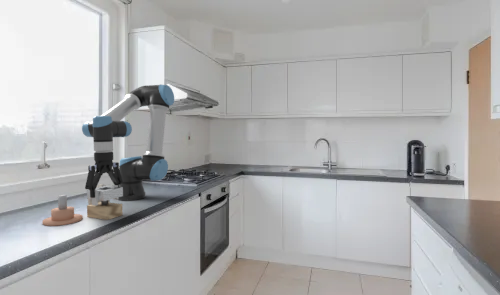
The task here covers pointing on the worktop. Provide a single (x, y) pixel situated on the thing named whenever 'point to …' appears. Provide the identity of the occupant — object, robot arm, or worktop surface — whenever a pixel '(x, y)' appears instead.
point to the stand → (104, 210)
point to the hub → (62, 214)
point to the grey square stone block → (107, 193)
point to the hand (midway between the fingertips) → (105, 202)
